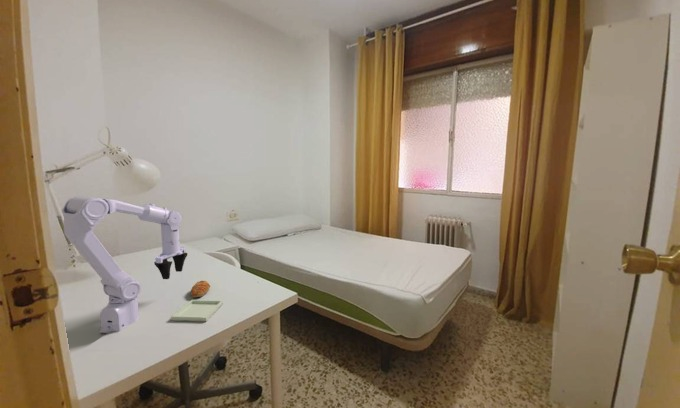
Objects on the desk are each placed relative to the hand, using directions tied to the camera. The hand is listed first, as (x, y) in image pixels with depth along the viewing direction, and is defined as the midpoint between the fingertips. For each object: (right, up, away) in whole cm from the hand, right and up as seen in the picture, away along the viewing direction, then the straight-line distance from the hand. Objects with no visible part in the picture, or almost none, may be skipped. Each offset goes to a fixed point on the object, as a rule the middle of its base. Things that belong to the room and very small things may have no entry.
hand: (172, 274), depth 102 cm
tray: (+15, -11, -8) cm, 20 cm away
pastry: (+6, -11, +4) cm, 12 cm away
